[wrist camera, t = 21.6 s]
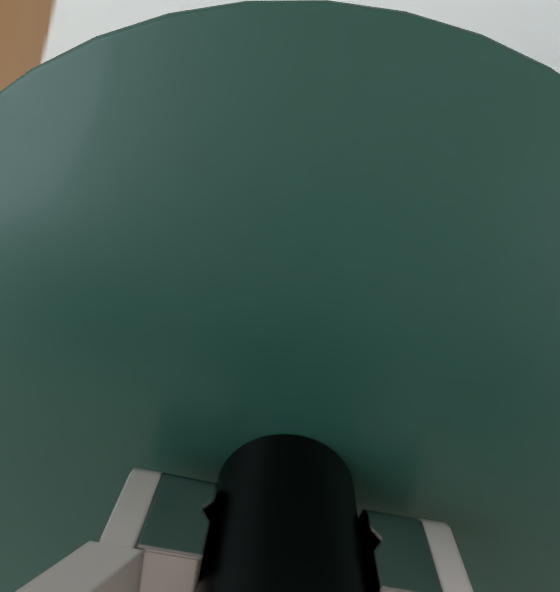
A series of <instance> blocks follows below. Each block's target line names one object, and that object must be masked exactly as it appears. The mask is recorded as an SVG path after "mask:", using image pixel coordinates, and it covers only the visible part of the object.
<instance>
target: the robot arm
mask: <svg viewBox="0 0 560 592" xmlns="http://www.w3.org/2000/svg"><path fill="white" fill-rule="evenodd" d="M217 487H218V483H213V482H208V481H203V480H199V479H194V478H189V477H184V476H179V475H174V474H169V473H164V472H163V473H161V472H156V471H151V470H146V469H142V468H137V467H135V468H134V469H133V470H132V471H131V472H130V474H129V476H128V478H127V480H126V483H125V485H124V487H123V489H122V491H121V494H120V496H119V498H118V500H117V502H116V505H115V507H114V509H113V511H112V514H111V516H110V518H109V520H108V522H107V525H106V527H105V529H104V531H103V534H102V536H101V538H100V540H99V542H95V541H88V542H87V543H85V544H84V545H82V546H81V547H80V548H78V549H77V550H75V551H74V552H72V553H71V554H69V555H68V556H66V557H65V558H63V559H62V560H61V561H59V562H58V563H56V564H55V565H53V566H52V567H50V568H49V569H47V570H46V571H44V572H43V573H42V574H40V575H39V576H37V577H36V578H34V579H33V580H31V581H30V582H28V583H27V584H25V585H24V586H23V587H21V588H20V589H18V590H17V591H15V592H195V589H196V587H197V585H198V580H199V576H200V571H201V566H202V562H203V557H204V552H205V547H206V542H207V537H208V531H209V526H210V523H211V518H212V513H213V508H214V503H215V498H216V492H217ZM358 520H359V527H360V534H361V541H362V548H363V555H364V562H365V569H366V576H367V582H368V589H369V592H474V591H473V588H472V586H471V583H470V580H469V577H468V575H467V572H466V569H465V566H464V564H463V561H462V558H461V556H460V553H459V550H458V547H457V545H456V542H455V539H454V536H453V534H452V531H451V528H450V527H449V526H448V525H447V523H445V522H439V521H432V520H426V519H420V518H418V519H416V518H412V517H406V516H400V515H394V514H388V513H382V512H377V511H371V510H365V509H363V510H362V512H361V513H360V515H359V517H358Z"/></svg>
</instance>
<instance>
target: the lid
mask: <svg viewBox="0 0 560 592" xmlns="http://www.w3.org/2000/svg"><path fill="white" fill-rule="evenodd" d="M135 467H137V468H142V469H146V470H151V471H156V472H161V473H163V472H164V473H169V474H174V475H179V476H184V477H189V478H194V479H199V480H203V481H208V482H213V483H218V487H217V492H216V498H215V503H214V508H213V513H212V518H211V523H210V526H209V531H208V537H207V542H206V547H205V552H204V557H203V562H202V566H201V571H200V576H199V580H198V585H197V587H196V589H195V592H369V589H368V582H367V576H366V569H365V562H364V555H363V548H362V541H361V534H360V527H359V520H358V517H359V515H360V513H361V512H362V510H363V509H365V510H371V511H377V512H382V513H388V514H394V515H400V516H406V517H412V518H416V519H418V518H420V519H426V520H432V521H439V522H445V523H447V525H448V526H449V527H450V528H451V531H452V534H453V536H454V539H455V542H456V545H457V547H458V550H459V553H460V556H461V558H462V561H463V564H464V566H465V569H466V572H467V575H468V577H469V580H470V583H471V586H472V588H473V591H474V592H560V74H559V73H558V72H556V71H555V70H553V69H552V68H550V67H548V66H546V65H544V64H542V63H540V62H538V61H536V60H534V59H532V58H530V57H527V56H525V55H523V54H521V53H519V52H517V51H515V50H513V49H511V48H509V47H507V46H505V45H503V44H501V43H498V42H496V41H494V40H492V39H490V38H488V37H486V36H484V35H482V34H479V33H475V32H472V31H469V30H465V29H462V28H459V27H455V26H452V25H449V24H445V23H442V22H439V21H436V20H432V19H429V18H426V17H422V16H419V15H416V14H412V13H409V12H405V11H398V10H391V9H384V8H377V7H370V6H363V5H356V4H349V3H342V2H335V1H329V0H297V1H243V2H237V3H230V4H224V5H218V6H211V7H205V8H199V9H193V10H186V11H180V12H174V13H168V14H165V15H162V16H159V17H156V18H153V19H149V20H146V21H143V22H140V23H137V24H134V25H131V26H128V27H124V28H121V29H118V30H115V31H112V32H109V33H106V34H103V35H100V36H96V37H94V38H92V39H90V40H88V41H86V42H84V43H82V44H80V45H78V46H76V47H74V48H72V49H70V50H68V51H66V52H64V53H62V54H60V55H58V56H56V57H55V58H53V59H51V60H49V61H47V62H45V63H43V64H41V65H39V66H37V67H35V68H33V69H31V70H29V71H28V72H27V73H25V74H24V75H22V76H21V77H20V78H18V79H17V80H16V81H14V82H13V83H11V84H10V85H9V86H7V87H6V88H5V89H3V90H2V91H0V592H15V591H17V590H18V589H20V588H21V587H23V586H24V585H25V584H27V583H28V582H30V581H31V580H33V579H34V578H36V577H37V576H39V575H40V574H42V573H43V572H44V571H46V570H47V569H49V568H50V567H52V566H53V565H55V564H56V563H58V562H59V561H61V560H62V559H63V558H65V557H66V556H68V555H69V554H71V553H72V552H74V551H75V550H77V549H78V548H80V547H81V546H82V545H84V544H85V543H87V542H88V541H95V542H99V540H100V538H101V536H102V534H103V531H104V529H105V527H106V525H107V522H108V520H109V518H110V516H111V514H112V511H113V509H114V507H115V505H116V502H117V500H118V498H119V496H120V494H121V491H122V489H123V487H124V485H125V483H126V480H127V478H128V476H129V474H130V472H131V471H132V470H133V469H134V468H135Z"/></svg>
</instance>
